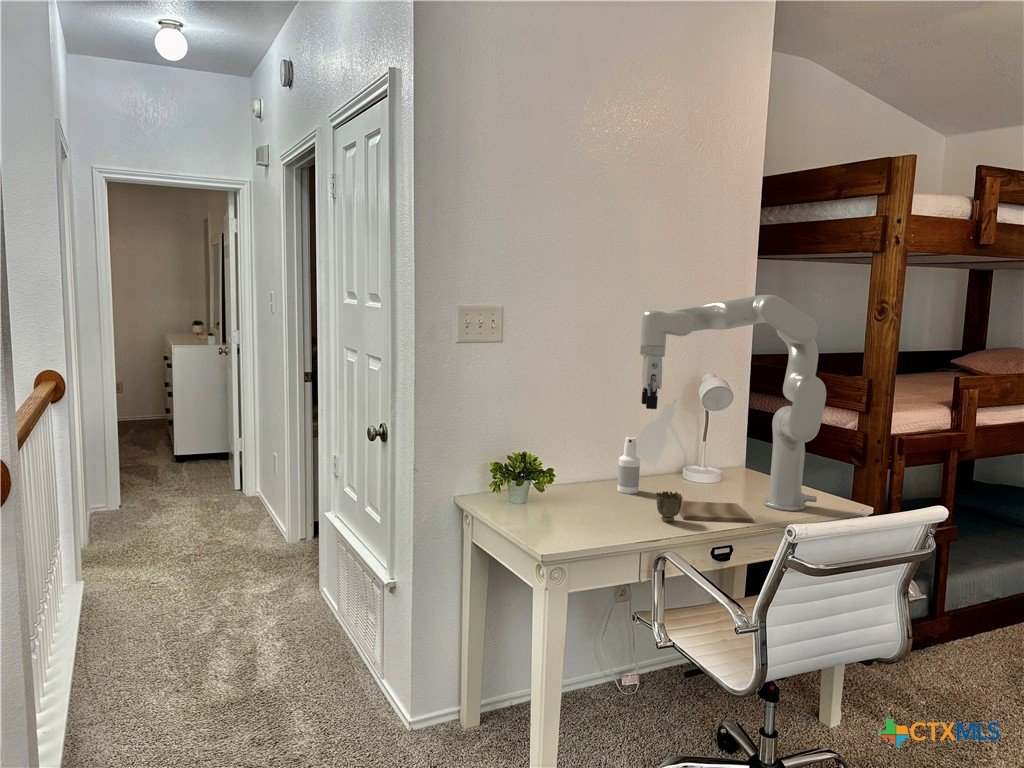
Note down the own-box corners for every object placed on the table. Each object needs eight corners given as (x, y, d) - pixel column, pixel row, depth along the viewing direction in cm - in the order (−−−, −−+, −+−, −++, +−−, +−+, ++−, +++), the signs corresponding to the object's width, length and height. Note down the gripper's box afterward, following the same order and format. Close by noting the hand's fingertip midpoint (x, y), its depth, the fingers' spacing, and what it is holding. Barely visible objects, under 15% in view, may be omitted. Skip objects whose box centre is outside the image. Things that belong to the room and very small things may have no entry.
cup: (651, 517, 222) (653, 490, 221) (676, 517, 223) (678, 490, 222) (658, 524, 215) (660, 497, 214) (684, 525, 215) (685, 497, 214)
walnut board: (736, 507, 236) (737, 503, 236) (752, 522, 221) (752, 518, 220) (672, 504, 237) (672, 500, 236) (683, 519, 221) (683, 515, 221)
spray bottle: (616, 492, 248) (619, 438, 246) (618, 487, 255) (621, 435, 253) (637, 495, 246) (640, 440, 244) (638, 489, 253) (642, 436, 251)
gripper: (669, 354, 224) (665, 411, 226) (660, 349, 242) (656, 403, 244) (644, 352, 225) (640, 410, 227) (636, 348, 242) (633, 402, 244)
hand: (648, 406), depth 235 cm, fingers open, 9 cm apart
